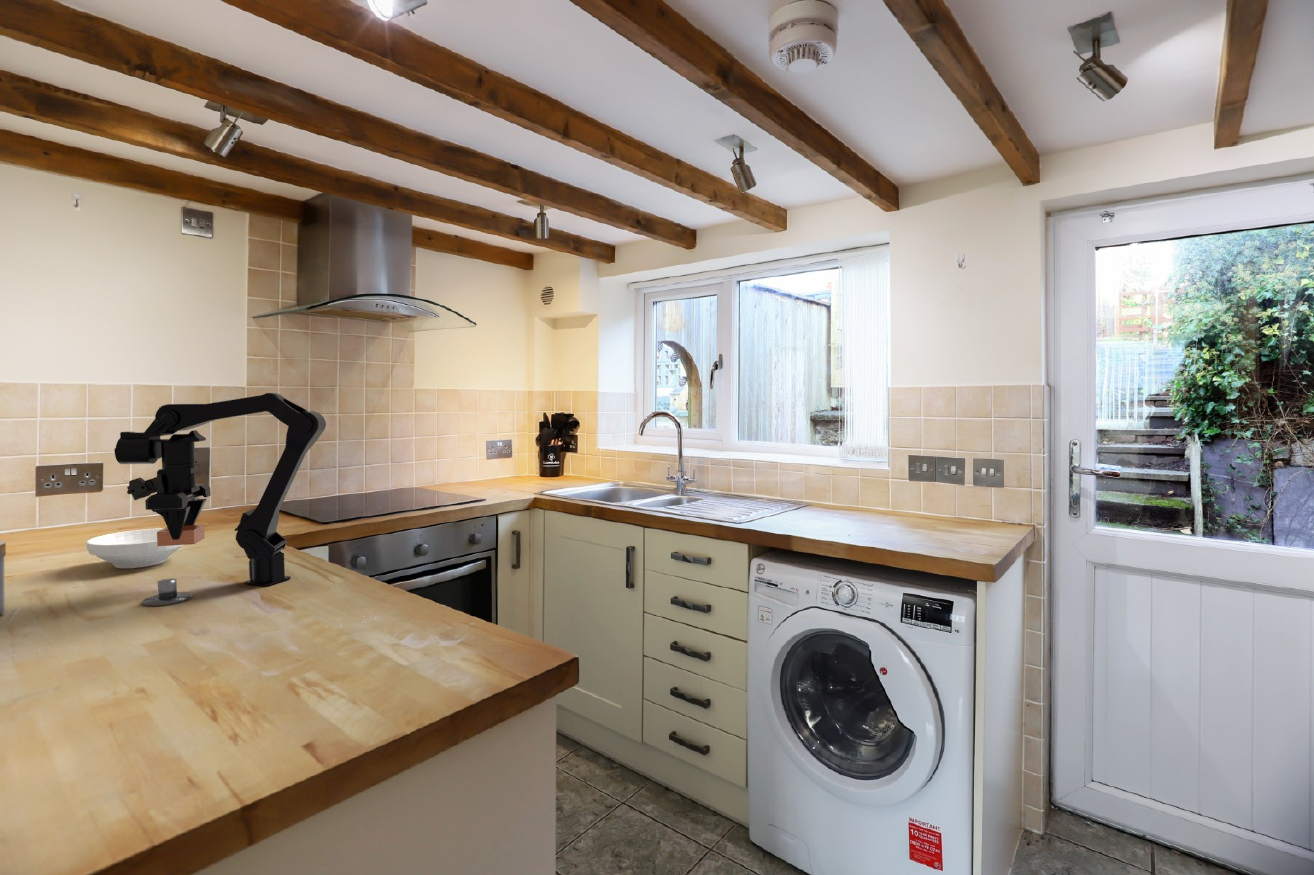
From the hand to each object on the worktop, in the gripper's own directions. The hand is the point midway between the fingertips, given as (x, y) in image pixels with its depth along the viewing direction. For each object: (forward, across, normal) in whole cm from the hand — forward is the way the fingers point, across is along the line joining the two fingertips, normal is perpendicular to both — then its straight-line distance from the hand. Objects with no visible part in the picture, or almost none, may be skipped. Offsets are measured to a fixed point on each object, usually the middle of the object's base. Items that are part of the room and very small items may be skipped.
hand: (181, 536), depth 140 cm
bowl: (+11, -25, -17) cm, 32 cm away
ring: (+1, 0, 0) cm, 1 cm away
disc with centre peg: (+11, +10, 0) cm, 15 cm away
